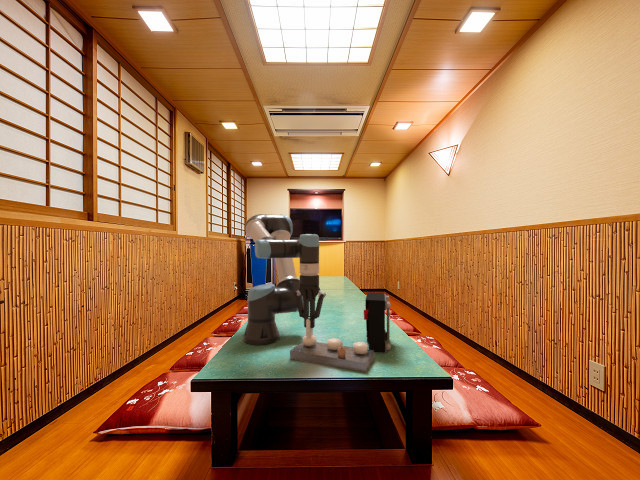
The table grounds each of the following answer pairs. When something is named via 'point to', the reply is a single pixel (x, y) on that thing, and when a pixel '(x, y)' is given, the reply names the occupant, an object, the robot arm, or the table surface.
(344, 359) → the plate
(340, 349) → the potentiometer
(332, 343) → the knob mid
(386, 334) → the electrical component
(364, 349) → the knob outer
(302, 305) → the robot arm
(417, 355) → the table surface
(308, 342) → the knob
